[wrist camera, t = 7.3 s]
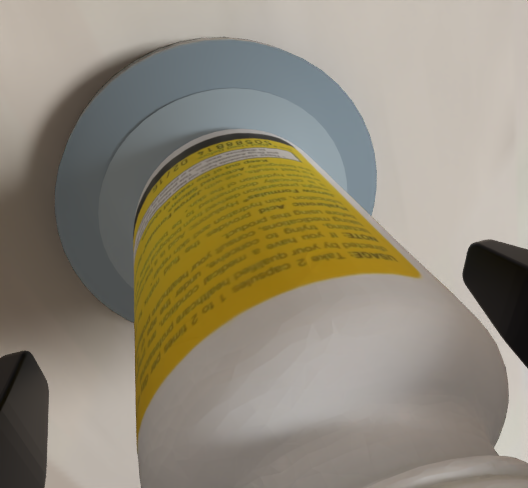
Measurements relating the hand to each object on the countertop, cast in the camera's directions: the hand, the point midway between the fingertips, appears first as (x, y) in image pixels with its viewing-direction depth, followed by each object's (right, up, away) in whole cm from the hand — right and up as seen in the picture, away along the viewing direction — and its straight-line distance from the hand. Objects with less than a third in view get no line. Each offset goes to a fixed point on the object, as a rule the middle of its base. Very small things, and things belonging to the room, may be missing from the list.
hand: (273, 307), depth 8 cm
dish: (-1, +2, +4) cm, 5 cm away
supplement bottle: (-1, +2, +3) cm, 4 cm away
